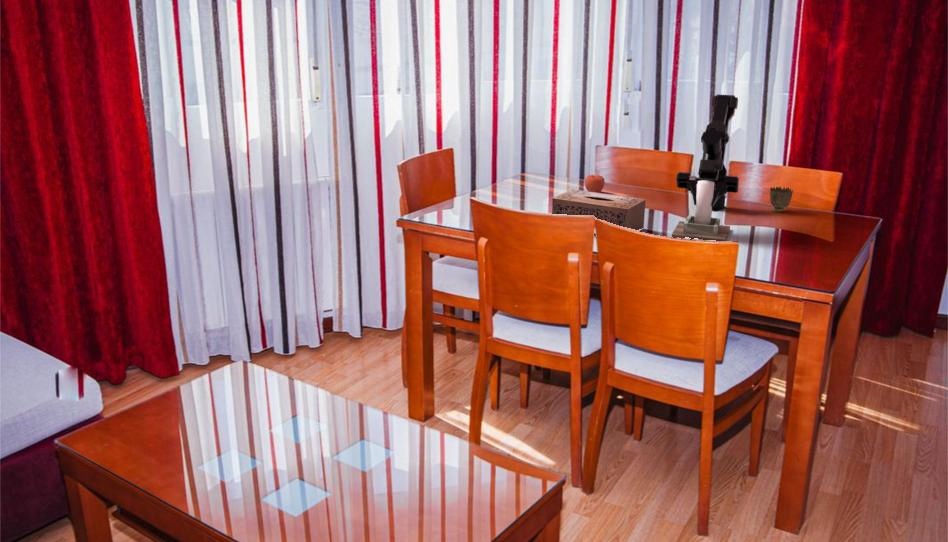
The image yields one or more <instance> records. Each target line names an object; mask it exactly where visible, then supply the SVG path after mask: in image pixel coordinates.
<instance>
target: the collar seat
mask: <svg viewBox="0 0 948 542" xmlns="http://www.w3.org/2000/svg"><path fill="white" fill-rule="evenodd" d="M694 217H695V215H690V214H688V215H687V217H686V219H685V220H684V221H680V220H679V222H678V223H677V225H676V226H675V228H674V229H673V232H671V238H672V237H679V238H685V237H689V238H691V239H694V238H698V239H703V240H716V241H727V239H726V238H728V235H729V233H730V231H729V230H730V229H731V225H722V224H721V218H718V217H711V223H710V225H704V224H694Z"/></svg>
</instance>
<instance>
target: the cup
mask: <svg viewBox="0 0 948 542" xmlns="http://www.w3.org/2000/svg"><path fill="white" fill-rule="evenodd" d="M769 190H770V191H769V192H770V193H769V195H770V196H769V200H770V204H771V206H772V207H773V211H774V212H775V211H776V212H775V213H784V212H785V211H786V208H788V207H789V206H790V203H791V200H792V197H793V193H794V189H792V188H790V187H789V186H788V187H784V186H783V187H781V186H779V187H778V186H776V187H775V186H773V187H770V189H769Z"/></svg>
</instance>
